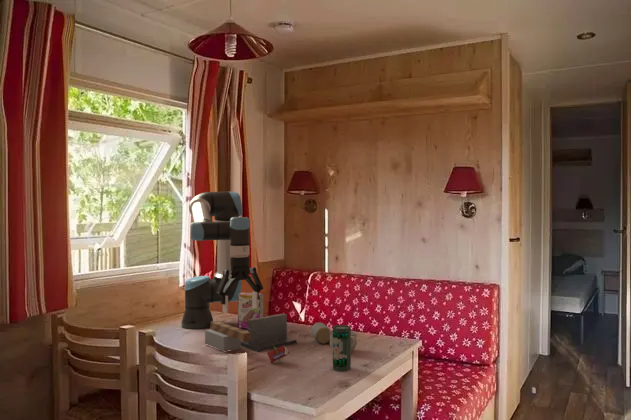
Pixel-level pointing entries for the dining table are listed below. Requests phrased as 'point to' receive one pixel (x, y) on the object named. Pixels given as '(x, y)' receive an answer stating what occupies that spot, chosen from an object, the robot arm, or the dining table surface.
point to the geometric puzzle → (277, 353)
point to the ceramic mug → (320, 333)
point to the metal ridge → (268, 333)
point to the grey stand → (221, 340)
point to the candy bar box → (248, 309)
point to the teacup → (353, 339)
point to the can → (341, 348)
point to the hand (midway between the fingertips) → (240, 310)
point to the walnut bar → (230, 331)
